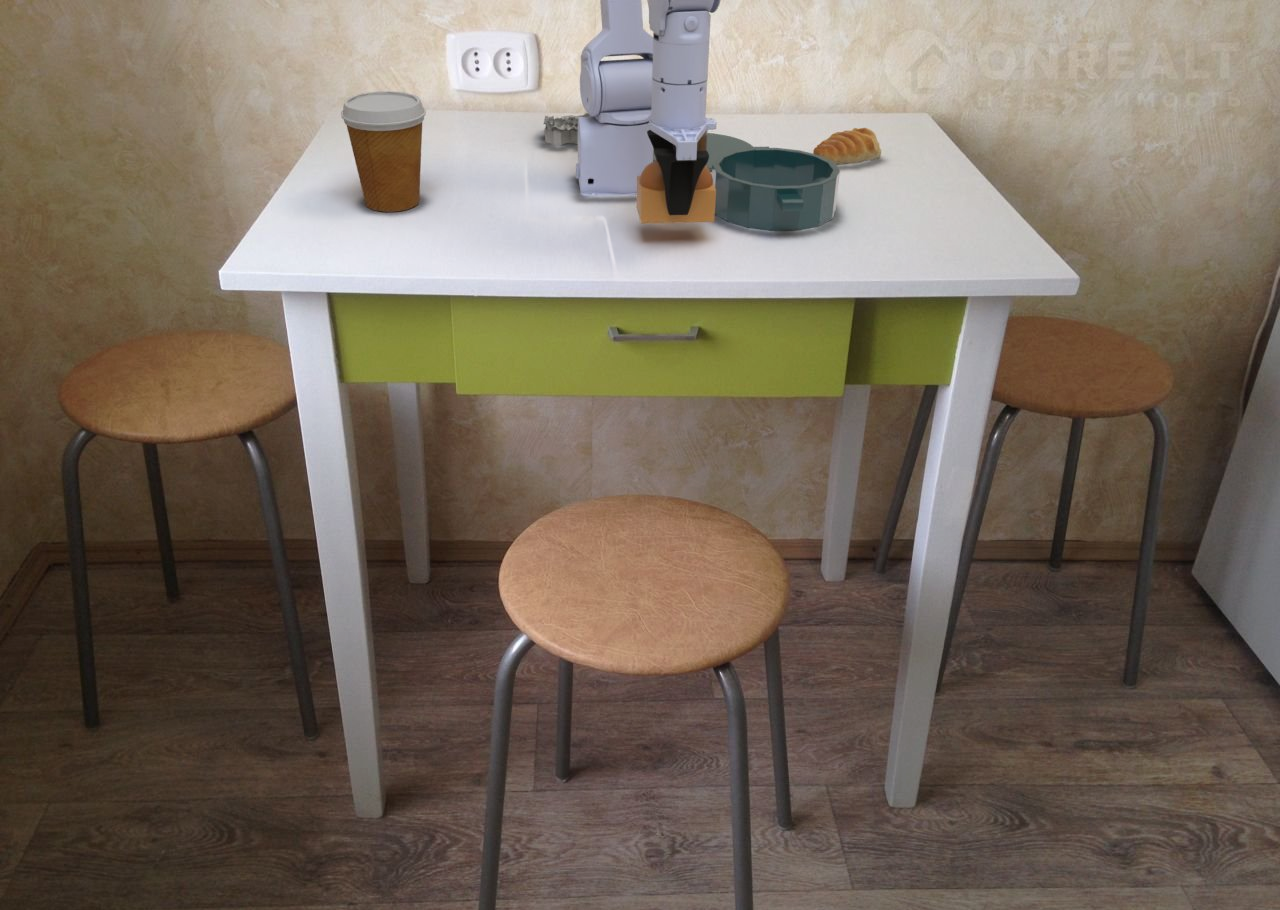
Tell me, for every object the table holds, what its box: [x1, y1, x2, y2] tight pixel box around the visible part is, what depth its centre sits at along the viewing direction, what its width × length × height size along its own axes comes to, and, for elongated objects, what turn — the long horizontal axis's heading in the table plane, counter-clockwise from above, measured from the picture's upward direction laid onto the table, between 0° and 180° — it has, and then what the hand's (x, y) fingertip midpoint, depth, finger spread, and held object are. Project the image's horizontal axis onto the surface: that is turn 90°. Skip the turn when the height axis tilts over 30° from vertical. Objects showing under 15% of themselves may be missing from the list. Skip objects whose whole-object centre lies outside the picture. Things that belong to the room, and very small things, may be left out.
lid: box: [653, 130, 754, 173], centre depth 152 cm, size 16×16×5 cm
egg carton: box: [543, 112, 590, 147], centre depth 156 cm, size 11×8×4 cm
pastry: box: [812, 127, 882, 166], centre depth 152 cm, size 9×7×4 cm
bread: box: [636, 161, 716, 224], centre depth 124 cm, size 8×5×6 cm, turn 96°
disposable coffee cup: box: [340, 90, 427, 213], centre depth 133 cm, size 10×10×12 cm
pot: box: [711, 146, 841, 232], centre depth 134 cm, size 15×20×6 cm
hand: (674, 205), depth 125 cm, fingers closed on bread, 5 cm apart
